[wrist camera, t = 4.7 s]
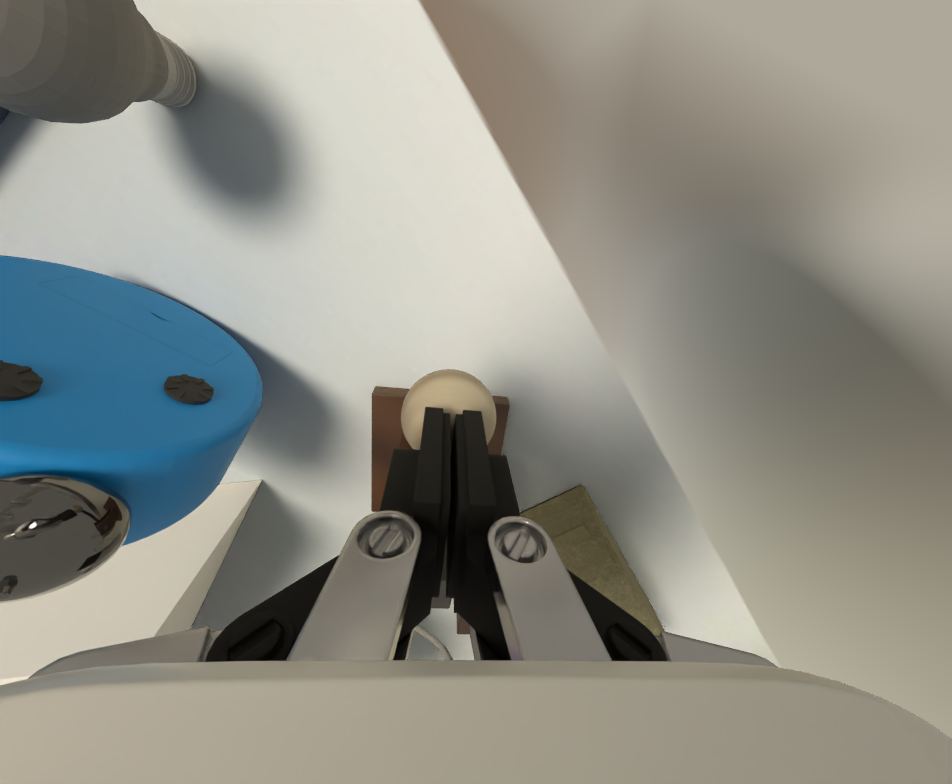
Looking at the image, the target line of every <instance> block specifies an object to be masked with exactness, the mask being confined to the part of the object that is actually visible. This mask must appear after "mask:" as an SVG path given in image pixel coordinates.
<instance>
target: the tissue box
mask: <svg viewBox="0 0 952 784" xmlns="http://www.w3.org/2000/svg"><path fill="white" fill-rule="evenodd" d="M520 517H523V518H527V519H530V520H532V521H534V522H536V523H538V524H539V525H540V526H542V527H543V528H544V529H545V530H546V531H547V532H548V534H549V535H550V537H551V538H552V540H553V542H554V544H555V546H556V548H557V550H558V552H559V554H560V556H561V558H562V560H563V563H564V565H565V567H566V569H568V570H569V571H570V572H572V573H573V574H575V575H576V576H577V577H579V578H580V579H582V580H583V581H584V582H586V583H587V584H588V585H590V586H591V587H593V588H594V589H595V590H597V591H598V592H600V593H601V594H602V595H604V596H605V597H607V598H608V599H609V600H611V601H612V602H614V603H615V604H616V605H618V606H619V607H621V608H622V609H623V610H625V611H626V612H627V613H629V614H630V615H632V616H633V617H634V618H636V619H637V620H639V621H640V622H641V623H642V624H643V625H645V626H646V627H647V628H648V629H649V630H650V631H651V632H652V633H653V635H657V636H659V635H660V633H661V631H664V629H663V627H662V625H661V623H660V621H659V619H658V617H657V615H656V613H655V611H654V609H653V607H652V605H651V603H650V602H649V600H648V598H647V596H646V595H645V593H644V591H643V589H642V588H641V586H640V584H639V582H638V581H637V579H636V577H635V575H634V574H633V572H632V570H631V568H630V567H629V565H628V563H627V561H626V560H625V558H624V556H623V554H622V553H621V551H620V549H619V547H618V546H617V544H616V542H615V540H614V539H613V537H612V535H611V533H610V532H609V530H608V528H607V526H606V525H605V523H604V521H603V519H602V518H601V516H600V514H599V512H598V511H597V509H596V507H595V505H594V504H593V502H592V500H591V499H590V497H589V495H588V493H587V492H586V490H585V488H584V486H579V487H577V488H574V489H572V490H570V491H568V492H566V493H564V494H562V495H559V496H557V497H555V498H553V499H551V500H549V501H547V502H545V503H542V504H540V505H538V506H536V507H534V508H532V509H530V510H527V511H525V512H523V513H521V514H520ZM664 632H665V631H664Z"/></svg>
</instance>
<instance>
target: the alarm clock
mask: <svg viewBox="0 0 952 784" xmlns="http://www.w3.org/2000/svg"><path fill="white" fill-rule="evenodd" d="M262 398H263V385H262V380H261V377H260V374H259V371H258V369H257V367H256V365H255V363H254V362H253V360H252V359H251V357H250V356H249V355H248V353H247V352H246V351H245V350H244V348H243V347H242V346H241V345H240V344H239V343H238V342H237V341H236V340H234V339H233V338H232V337H231V336H230V335H229V334H228V333H226V332H225V331H224V330H223V329H221V328H220V327H218V326H217V325H216V324H214V323H213V322H211V321H210V320H208V319H207V318H205V317H203V316H202V315H200V314H198V313H197V312H195V311H193V310H191V309H189V308H188V307H186V306H184V305H182V304H180V303H178V302H176V301H173V300H171V299H169V298H167V297H165V296H162V295H160V294H158V293H155V292H153V291H150V290H148V289H145V288H143V287H140V286H137V285H134V284H131V283H129V282H126V281H122V280H119V279H116V278H113V277H110V276H106V275H103V274H99V273H95V272H92V271H88V270H84V269H79V268H75V267H71V266H66V265H61V264H56V263H51V262H45V261H40V260H33V259H26V258H19V257H11V256H2V255H0V603H8V602H16V601H21V600H26V599H30V598H34V597H38V596H42V595H45V594H49V593H52V592H55V591H57V590H60V589H63V588H65V587H67V586H69V585H71V584H74V583H76V582H78V581H79V580H81V579H83V578H85V577H87V576H89V575H90V574H92V573H93V572H95V571H96V570H98V569H99V568H100V567H101V566H103V565H104V564H105V563H106V562H107V561H109V560H110V559H111V558H112V557H113V556H114V555H115V554H116V552H117V551H118V550H119V549H120V547H122V546H125V545H128V544H131V543H134V542H136V541H139V540H141V539H144V538H146V537H149V536H151V535H154V534H156V533H158V532H160V531H162V530H164V529H166V528H168V527H170V526H171V525H173V524H175V523H176V522H178V521H180V520H181V519H183V518H184V517H186V516H187V515H189V514H190V513H191V512H193V511H194V510H195V509H196V508H197V507H199V506H200V505H201V504H202V503H203V502H204V501H205V500H206V499H207V498H208V497H209V496H210V495H211V494H212V493H213V492H214V490H215V489H216V488H217V486H218V485H219V483H220V482H221V480H222V478H223V476H224V475H225V473H226V471H227V469H228V467H229V465H230V464H231V462H232V460H233V458H234V456H235V454H236V453H237V451H238V449H239V447H240V445H241V443H242V442H243V440H244V438H245V436H246V434H247V432H248V431H249V429H250V427H251V425H252V423H253V421H254V420H255V418H256V416H257V414H258V412H259V410H260V407H261V404H262Z"/></svg>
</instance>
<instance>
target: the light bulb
mask: <svg viewBox="0 0 952 784" xmlns="http://www.w3.org/2000/svg"><path fill="white" fill-rule="evenodd" d="M196 85H197V83H196V75H195V71H194V68H193V66H192V63H191V62H190V60H189V58H188V56H187V55H186V54H185V53H184V51H183V50H182V49H181V48H180V47H179V46H178V45H177V44H175V43H174V42H173V41H171V40H170V39H168V38H166V37H165V36H163V35H161V34H160V33H158V32H156V31H155V30H154V29H153V28H152V26H151V25H150V24H149V23H148V21H147V20H146V19H145V17H144V16H143V15H142V14H141V13H140V12H139V11H138V10H137V8H136V5H135V3H134V1H133V0H0V106H1V107H3V108H5V109H7V110H10V111H12V112H14V113H17V114H21V115H25V116H29V117H33V118H37V119H41V120H46V121H50V122H62V123H89V122H94V121H100V120H105V119H109V118H111V117H113V116H115V115H117V114H119V113H121V112H123V111H124V110H125V109H126V108H127V107H128V106H129V105H130V104H131V103H132V102H142V101H147V100H152V101H155V102H157V103H160V104H162V105H165V106H169V107H182V106H184V105H186V104H188V103H189V102H190V101H191V100H192V98H193V97H194V95H195V92H196Z"/></svg>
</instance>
